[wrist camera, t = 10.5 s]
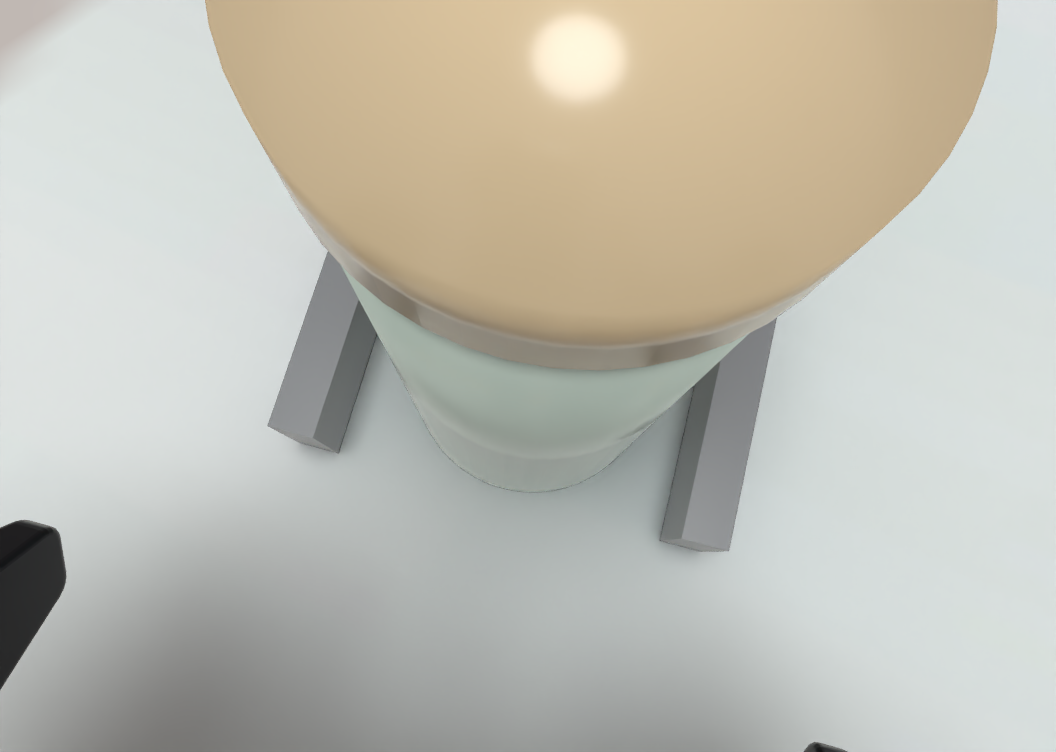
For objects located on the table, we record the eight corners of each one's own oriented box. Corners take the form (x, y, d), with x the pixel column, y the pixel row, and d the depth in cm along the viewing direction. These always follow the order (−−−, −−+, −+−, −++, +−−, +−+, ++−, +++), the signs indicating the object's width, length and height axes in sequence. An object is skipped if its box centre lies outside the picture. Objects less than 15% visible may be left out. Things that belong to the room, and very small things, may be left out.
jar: (604, 534, 19) (882, 448, 5) (371, 442, 19) (48, 132, 5) (684, 310, 20) (1069, -226, 6) (466, 228, 20) (397, -447, 7)
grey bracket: (700, 551, 19) (763, 550, 14) (298, 442, 19) (229, 405, 14) (795, 106, 21) (875, -20, 17) (441, 18, 22) (421, -129, 17)
